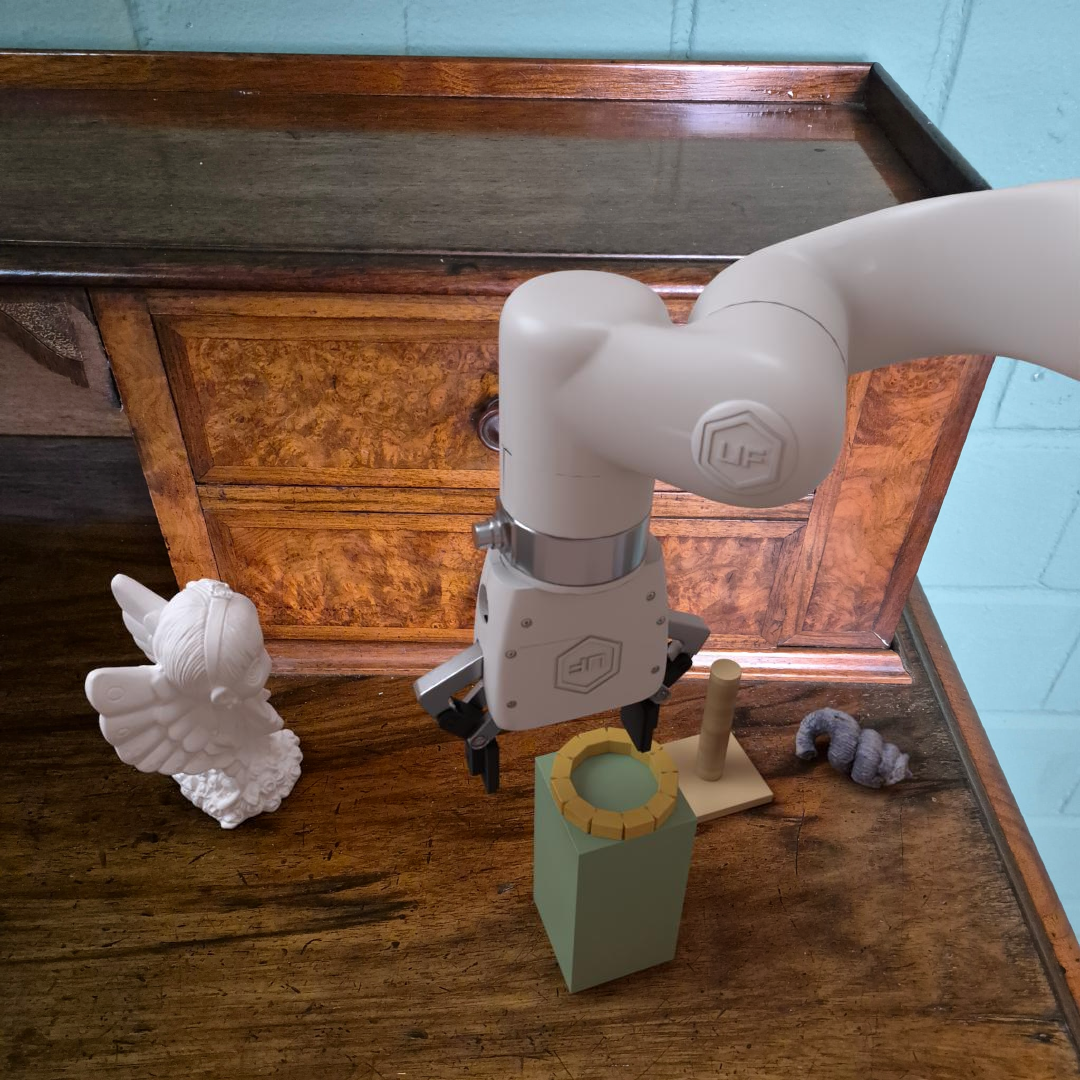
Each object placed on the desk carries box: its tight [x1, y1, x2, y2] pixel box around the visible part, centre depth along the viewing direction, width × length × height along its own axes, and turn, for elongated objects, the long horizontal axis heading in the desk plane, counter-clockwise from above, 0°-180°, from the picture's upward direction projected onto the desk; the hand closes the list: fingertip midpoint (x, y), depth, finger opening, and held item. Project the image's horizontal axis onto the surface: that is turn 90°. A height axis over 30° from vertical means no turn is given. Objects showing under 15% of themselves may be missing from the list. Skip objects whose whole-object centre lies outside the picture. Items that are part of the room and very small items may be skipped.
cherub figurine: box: [84, 573, 304, 830], centre depth 75 cm, size 13×12×20 cm
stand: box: [532, 750, 698, 995], centre depth 66 cm, size 8×8×16 cm
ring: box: [550, 726, 679, 840], centre depth 61 cm, size 8×8×1 cm
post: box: [661, 658, 774, 825], centre depth 78 cm, size 8×8×13 cm
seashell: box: [795, 706, 914, 789], centre depth 82 cm, size 5×5×10 cm
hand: (562, 754), depth 58 cm, fingers open, 9 cm apart
